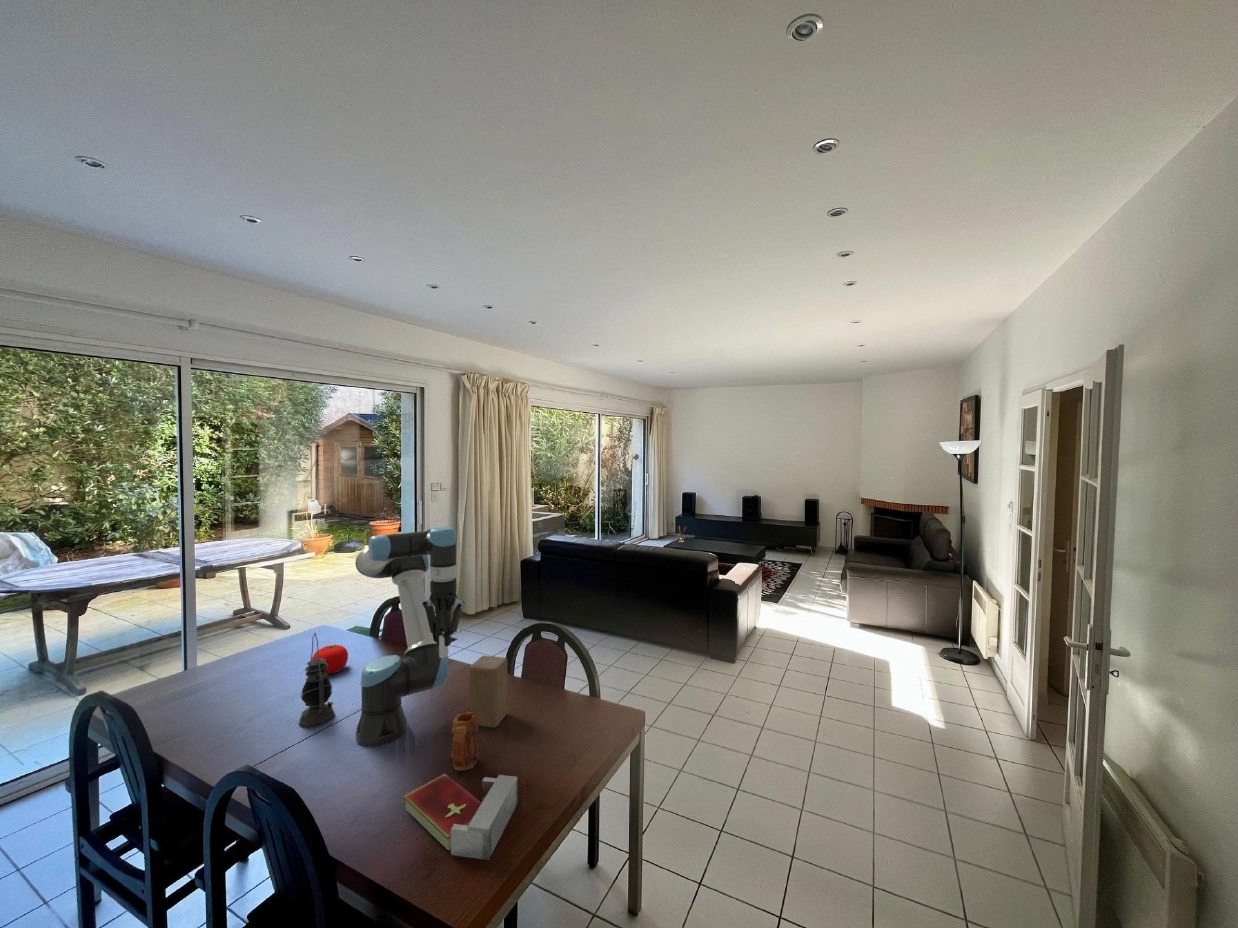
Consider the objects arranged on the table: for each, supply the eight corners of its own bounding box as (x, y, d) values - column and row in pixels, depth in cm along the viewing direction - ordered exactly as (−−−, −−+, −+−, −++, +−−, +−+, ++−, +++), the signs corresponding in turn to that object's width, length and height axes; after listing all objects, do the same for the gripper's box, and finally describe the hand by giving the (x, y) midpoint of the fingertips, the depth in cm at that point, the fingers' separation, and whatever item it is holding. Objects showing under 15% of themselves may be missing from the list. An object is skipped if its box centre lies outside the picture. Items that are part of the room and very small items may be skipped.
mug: (454, 756, 148) (454, 706, 147) (482, 754, 148) (482, 705, 148) (441, 789, 133) (441, 734, 133) (472, 787, 134) (471, 732, 133)
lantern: (340, 719, 168) (339, 632, 167) (304, 732, 160) (303, 641, 159) (328, 707, 176) (327, 623, 176) (293, 718, 168) (292, 631, 168)
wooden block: (496, 729, 162) (495, 669, 162) (468, 725, 164) (467, 666, 164) (508, 713, 172) (508, 656, 172) (482, 710, 174) (482, 654, 174)
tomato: (335, 679, 198) (335, 653, 198) (304, 678, 198) (303, 653, 198) (355, 663, 212) (354, 639, 212) (325, 663, 213) (325, 639, 212)
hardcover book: (446, 786, 135) (446, 771, 135) (492, 824, 121) (492, 807, 121) (403, 811, 126) (403, 794, 126) (447, 854, 112) (447, 836, 112)
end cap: (451, 854, 111) (450, 824, 111) (484, 799, 129) (484, 773, 129) (488, 859, 110) (488, 829, 110) (517, 803, 128) (517, 776, 128)
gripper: (416, 581, 147) (417, 659, 147) (457, 583, 144) (457, 662, 145) (430, 574, 154) (431, 649, 155) (469, 576, 152) (469, 652, 152)
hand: (443, 655), depth 150 cm, fingers closed
